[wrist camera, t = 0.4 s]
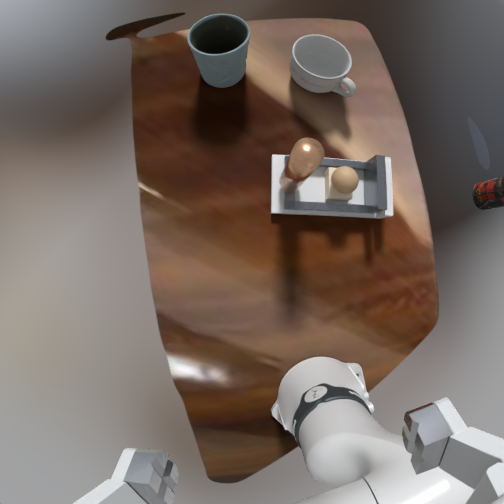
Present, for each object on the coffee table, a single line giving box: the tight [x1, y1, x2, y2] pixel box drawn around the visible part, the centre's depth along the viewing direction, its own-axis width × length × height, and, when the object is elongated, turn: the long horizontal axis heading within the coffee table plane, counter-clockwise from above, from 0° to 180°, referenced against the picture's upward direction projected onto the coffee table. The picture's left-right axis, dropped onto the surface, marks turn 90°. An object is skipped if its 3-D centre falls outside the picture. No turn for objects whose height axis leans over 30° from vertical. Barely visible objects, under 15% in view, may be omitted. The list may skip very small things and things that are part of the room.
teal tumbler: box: [187, 14, 250, 88], centre depth 46 cm, size 10×10×12 cm
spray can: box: [473, 176, 504, 210], centre depth 46 cm, size 6×6×15 cm
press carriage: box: [279, 138, 387, 214], centre depth 42 cm, size 9×17×17 cm, turn 89°
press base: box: [271, 155, 393, 219], centre depth 48 cm, size 10×20×9 cm, turn 89°
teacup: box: [290, 35, 356, 97], centre depth 48 cm, size 14×11×8 cm
